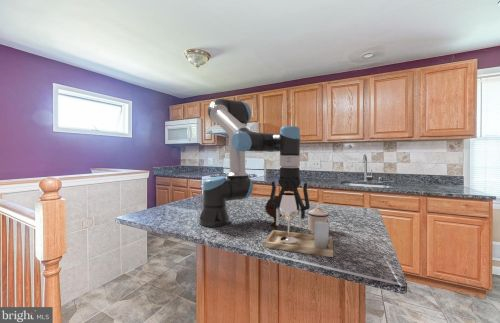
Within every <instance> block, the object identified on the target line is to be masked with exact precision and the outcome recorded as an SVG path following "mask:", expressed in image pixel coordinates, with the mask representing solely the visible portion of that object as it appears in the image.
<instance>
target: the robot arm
mask: <svg viewBox="0 0 500 323" xmlns="http://www.w3.org/2000/svg"><path fill="white" fill-rule="evenodd" d="M207 116H208V118H209V119H210V120H211V121H212V123H215V124H217V125H219V127H220V128H222V130H223V131H225V133H226V134H227V135H228V149H229V150H228V151H229V173H227V175H226V176H221V175H220V176H214V177H213V176H212V177H209V178H208V177H207V178H206V179H204V180H203V183H202V209H201V213H200V216H199V225H201V226H203V227H208V228H215V227H216V228H217V227H222V226H223V227H224V226H226V225H228V224H229V223H230V216H229V213H228V210H227V206H226V205H227V202H229V201H237V200H245V199H249V197H250V196H251V195H252V193H253V189H254V184H253V181H252V179H251V178H250V177H249V174H248V173H247V172H246V152H266V153H267V152H268V153H273V152H275V153H277V152H279V166H280V168H279V179H278V180H272V181H271V192H270V198H269V199H270V202H269V206H272V207H273V208H274V216H276V225H278V226H280V225H279V223H280V219H281V217H280V213H279V210H278V204H279V201H280V198H281V195H283V194H284V193H286V192H290V193H294V194H295V195H296V198H297V201H298V203H299V207H300V210H299V213H298V228H299V229H301V228H302V226H303V224H302V223H303V222H302V221H303V220H304V219H305V217H306V210H310V208H311V204H310V199H309V194H308V193H309V192H308V185H309V184H308V182H307V181H305V182H304V181H301V180H300V172H301V171H300V164H301V163H300V162H301V157H300V155H301V153H300V151H301V149H300V148H301V132H300V131H301V130H300V128H299V127H298V126H296V125H295V126H294V125H287V126H281V127H280V130H279V133H278V132H277V133H268V132H253V131H251V130H250V129H249V128H247V126H248V124H249V122H251V118H252V109H251V107H250V105H249V104H248V103H247V102H245V101H242V100H233V99H227V98H217V99H214V100H213V101H211V102H210V104H209V105H208V107H207ZM278 185H279V186H280V187H281V189H280V191H279V194H278V195H277V196H278V198H277V200H276V202H275V203H274V198H275V196H276V191H277V187H278ZM299 186H301V188H302V192H303V197H304V202H303V199H302V197H301V195H300V192H299V189H298V187H299ZM304 204H305V205H304Z"/></svg>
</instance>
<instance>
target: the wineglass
mask: <svg viewBox="0 0 500 323" xmlns="http://www.w3.org/2000/svg"><path fill="white" fill-rule="evenodd" d="M300 209H301V208H300V206H299V203H298V201H297V198H296V195H295V194H294V192H284V194H283V195H281V198H280V201H279V205H278V210H279V213H280V214H281V215H282V216H281V217H283V218H284V219H285V220H286V221H287V232H288V236H287V237H282V238H281V239H280V240H281V241H282V242H284V243H295V242H297V239H296V238H294V237H290V232H291V231H290V230H291V221H292V220H293V219H295V217H297V216H299V210H300Z"/></svg>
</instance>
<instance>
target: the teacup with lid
mask: <svg viewBox="0 0 500 323" xmlns="http://www.w3.org/2000/svg"><path fill="white" fill-rule="evenodd" d="M307 214H308V218H307V219H308V223H307V225H308V226H307V227H308V230H309V231H310V232H313V233H314V223H315V222H316V221H324V222H327V223H329V216H330V215H329V212H328V211H326V210H324V209H322V207H321V206H319V205H318V206H316V207H315V208H314V209H309V210H308V212H307Z"/></svg>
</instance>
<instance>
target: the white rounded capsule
mask: <svg viewBox="0 0 500 323" xmlns="http://www.w3.org/2000/svg"><path fill="white" fill-rule="evenodd" d="M329 224H330V223H329V222H328V223H327V222H324V221H316V222H315V223H314V232H313V235H314V247H315V248H319V249H326V250H327V249H328V237H329V232H330V230H329V228H330V226H329Z"/></svg>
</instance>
